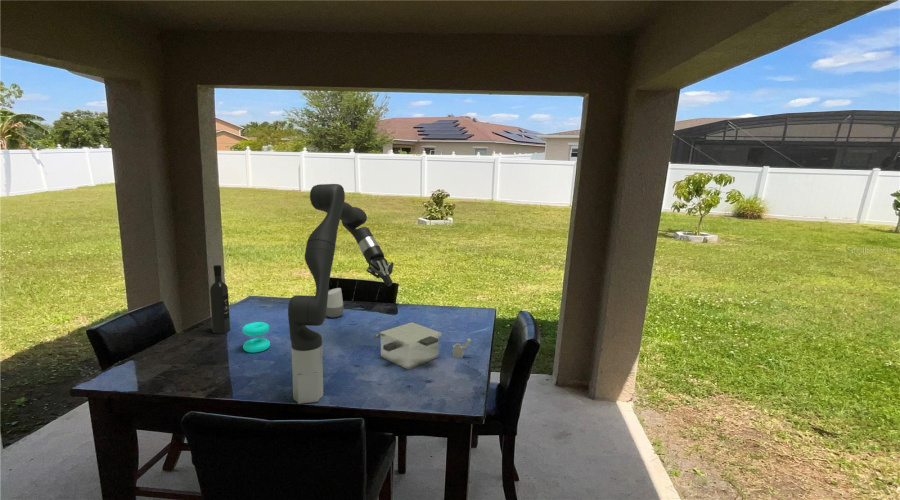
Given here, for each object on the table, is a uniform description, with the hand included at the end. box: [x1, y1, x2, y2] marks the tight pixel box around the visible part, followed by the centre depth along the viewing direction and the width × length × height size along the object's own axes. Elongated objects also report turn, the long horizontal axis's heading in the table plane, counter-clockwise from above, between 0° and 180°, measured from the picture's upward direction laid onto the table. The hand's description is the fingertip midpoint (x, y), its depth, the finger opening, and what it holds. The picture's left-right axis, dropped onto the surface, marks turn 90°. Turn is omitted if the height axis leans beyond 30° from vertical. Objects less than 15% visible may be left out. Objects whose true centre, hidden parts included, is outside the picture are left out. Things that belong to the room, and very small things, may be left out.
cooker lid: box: [379, 321, 442, 347], centre depth 169 cm, size 20×17×1 cm
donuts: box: [241, 321, 271, 354], centre depth 176 cm, size 10×10×10 cm
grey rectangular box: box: [373, 322, 440, 370], centre depth 172 cm, size 17×24×10 cm
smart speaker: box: [326, 287, 344, 319], centre depth 218 cm, size 10×9×14 cm
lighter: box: [452, 337, 472, 359], centre depth 173 cm, size 7×2×8 cm, turn 76°
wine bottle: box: [209, 264, 231, 335], centre depth 191 cm, size 6×6×30 cm
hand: (389, 284), depth 173 cm, fingers closed
